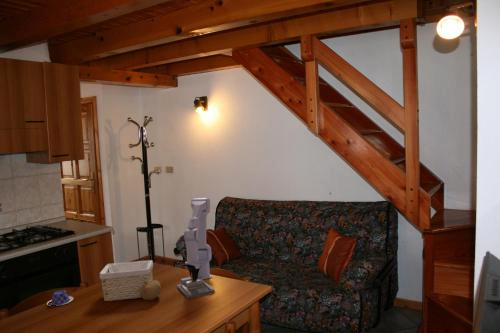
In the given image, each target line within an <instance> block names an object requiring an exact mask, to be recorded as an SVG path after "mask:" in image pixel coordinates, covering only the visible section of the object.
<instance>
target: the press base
mask: <svg viewBox="0 0 500 333" xmlns="http://www.w3.org/2000/svg"><path fill="white" fill-rule="evenodd" d="M198 279H201V276H200V275H198ZM202 280H203V285H201V286H196V287H191V288H187V287H186V282H187V281H191V276H189V277H184V278H180V283H179V284H177V285H176V288H177V289H178V290H179V291H180V293H181V294H184V295H185V296H184V295H183V296H184V297H185V298H186V299H187V300H189V298H190V299H194V298H197V297H198V296H199V297H202V295H203V296H207V295H211V294H210V293H212V294H215V292H216V291H215V288H213V287H212V286H211V285H210V284H208V283H207V281H205V279H202ZM206 294H207V295H206ZM193 297H194V298H193ZM199 297H198V298H199Z"/></svg>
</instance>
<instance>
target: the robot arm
mask: <svg viewBox="0 0 500 333" xmlns="http://www.w3.org/2000/svg"><path fill="white" fill-rule="evenodd" d="M190 208H191V209H192V216H191V218H189V221H188V224H187V227H186V228H187V229H186V230H184V231H183V238H184V239H183V240H184V243H185V246H186V247H185V248H186V249H185V250H186V261H185V262H184V263H185V266H186V268H187V269H188V272H189V275H190V276H189V277H191V273H192V278H193V280H197V279H198V275H200V276H201V279H203V280H208V279H212V278H213V276H212V275H211V270H210V261H212V255H213V254H212V247H211V245H210V244H208V243H207V226H208V225H207V223H208V222H207V219H208V218H207V217H208V214H209V213H210V212H211V200H210V198H209V197H197V198H196V197H195V198H194V197H192V199H191V200H190Z"/></svg>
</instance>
